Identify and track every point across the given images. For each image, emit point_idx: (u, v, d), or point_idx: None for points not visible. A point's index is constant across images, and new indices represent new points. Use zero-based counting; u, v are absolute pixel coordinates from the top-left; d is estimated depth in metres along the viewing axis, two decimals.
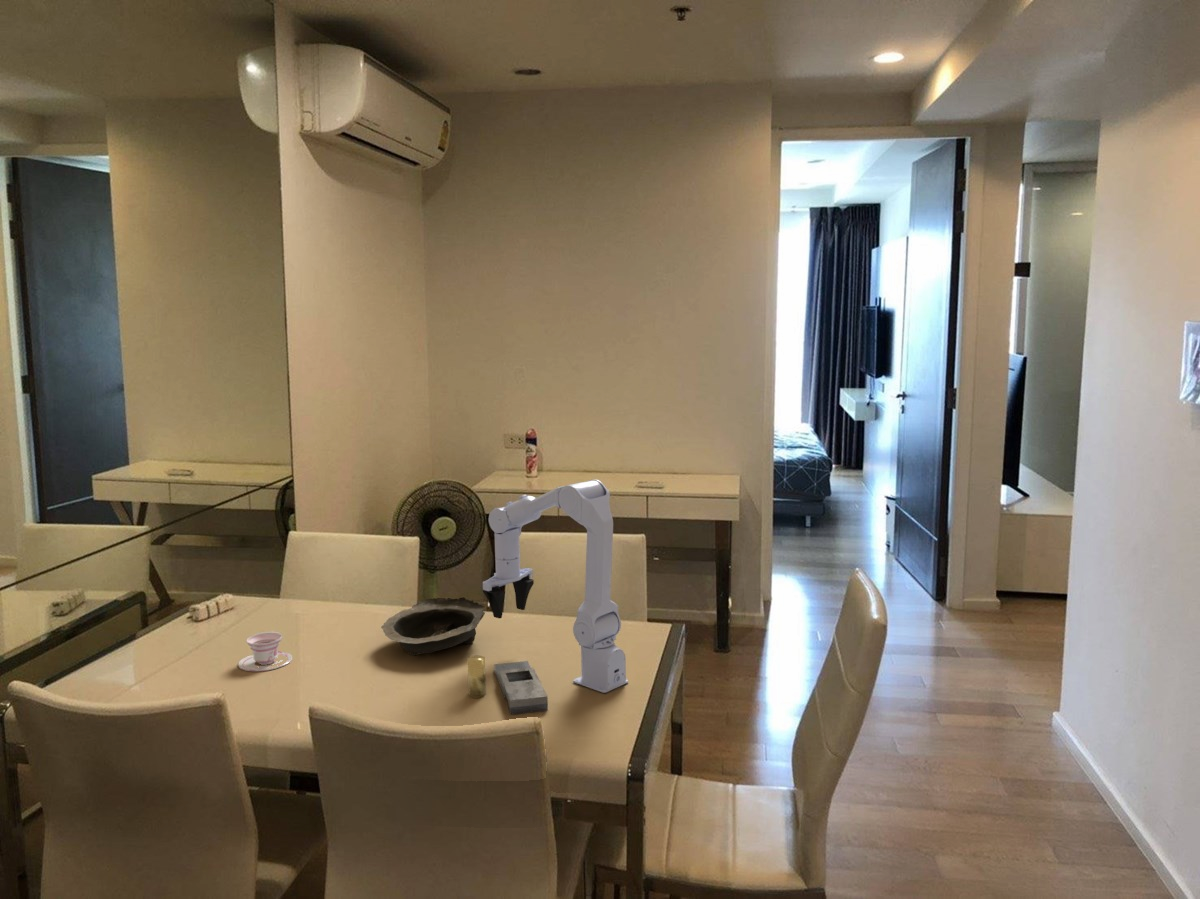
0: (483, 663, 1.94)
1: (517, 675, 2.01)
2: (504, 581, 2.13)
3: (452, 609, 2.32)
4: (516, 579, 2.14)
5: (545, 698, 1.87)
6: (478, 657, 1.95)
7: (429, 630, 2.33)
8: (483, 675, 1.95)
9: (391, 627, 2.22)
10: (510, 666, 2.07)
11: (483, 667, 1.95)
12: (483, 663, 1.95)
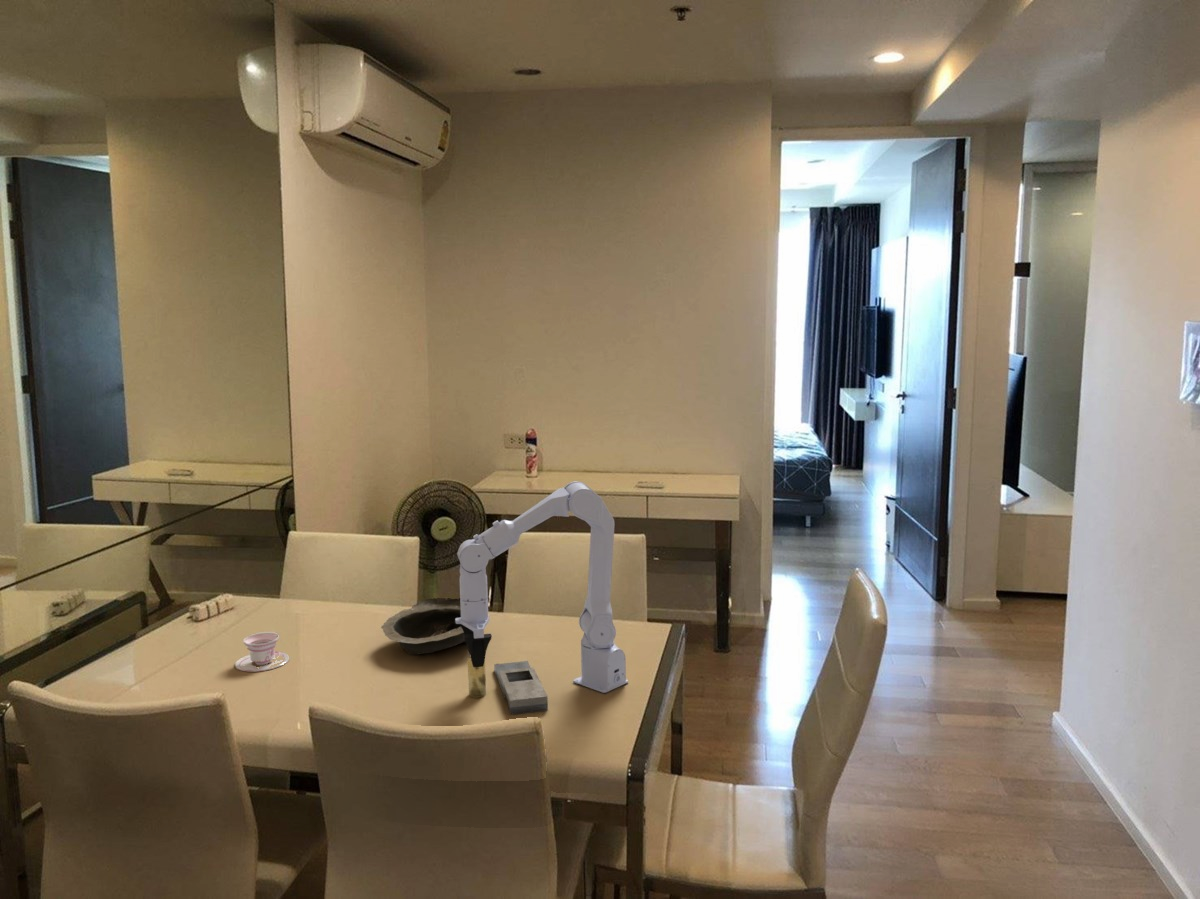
0: None
1: (517, 675, 2.01)
2: (486, 623, 1.91)
3: (452, 609, 2.32)
4: None
5: (545, 698, 1.87)
6: None
7: (429, 630, 2.33)
8: (483, 675, 1.95)
9: (391, 627, 2.22)
10: (510, 666, 2.07)
11: (483, 667, 1.95)
12: None
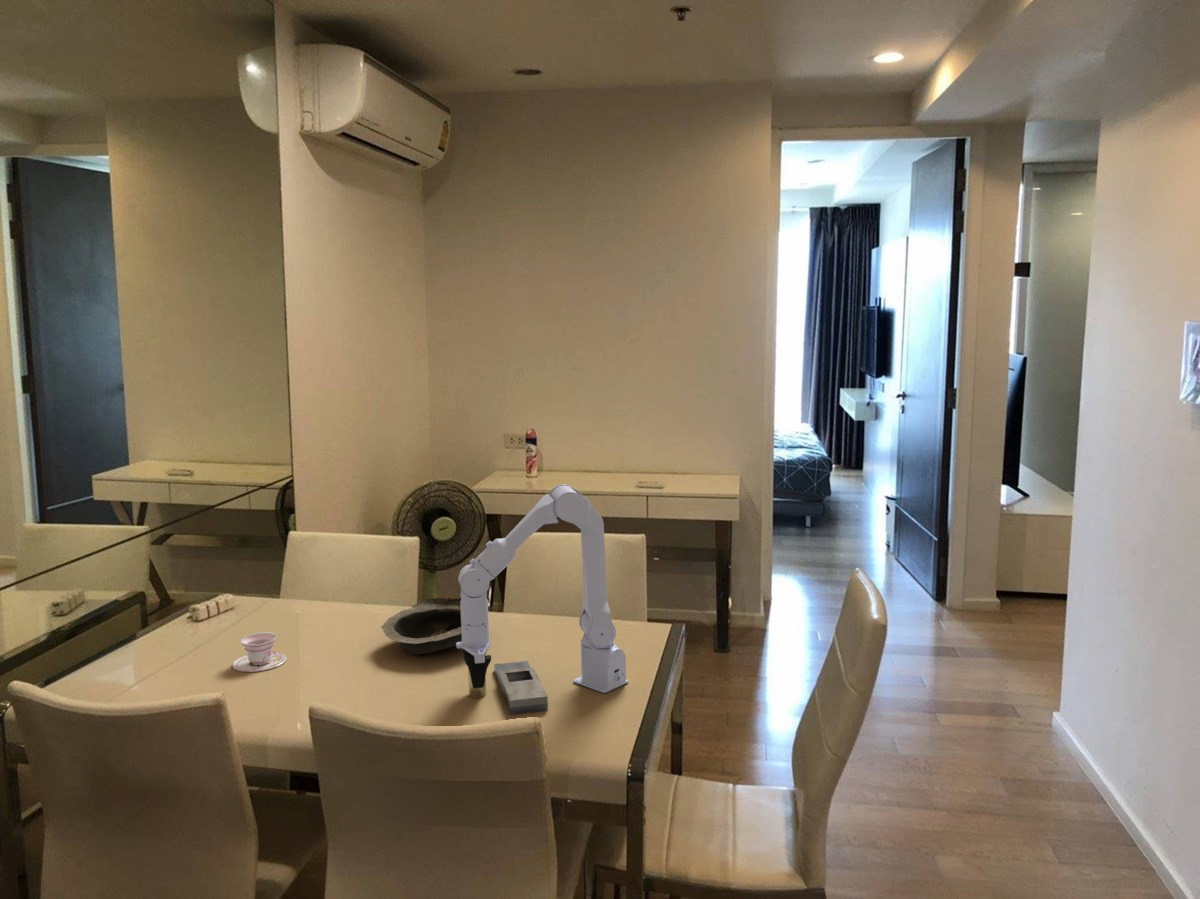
0: None
1: (517, 675, 2.01)
2: (487, 647, 1.92)
3: (452, 609, 2.32)
4: None
5: (545, 698, 1.87)
6: None
7: (429, 630, 2.33)
8: None
9: (391, 627, 2.22)
10: (510, 666, 2.07)
11: None
12: None
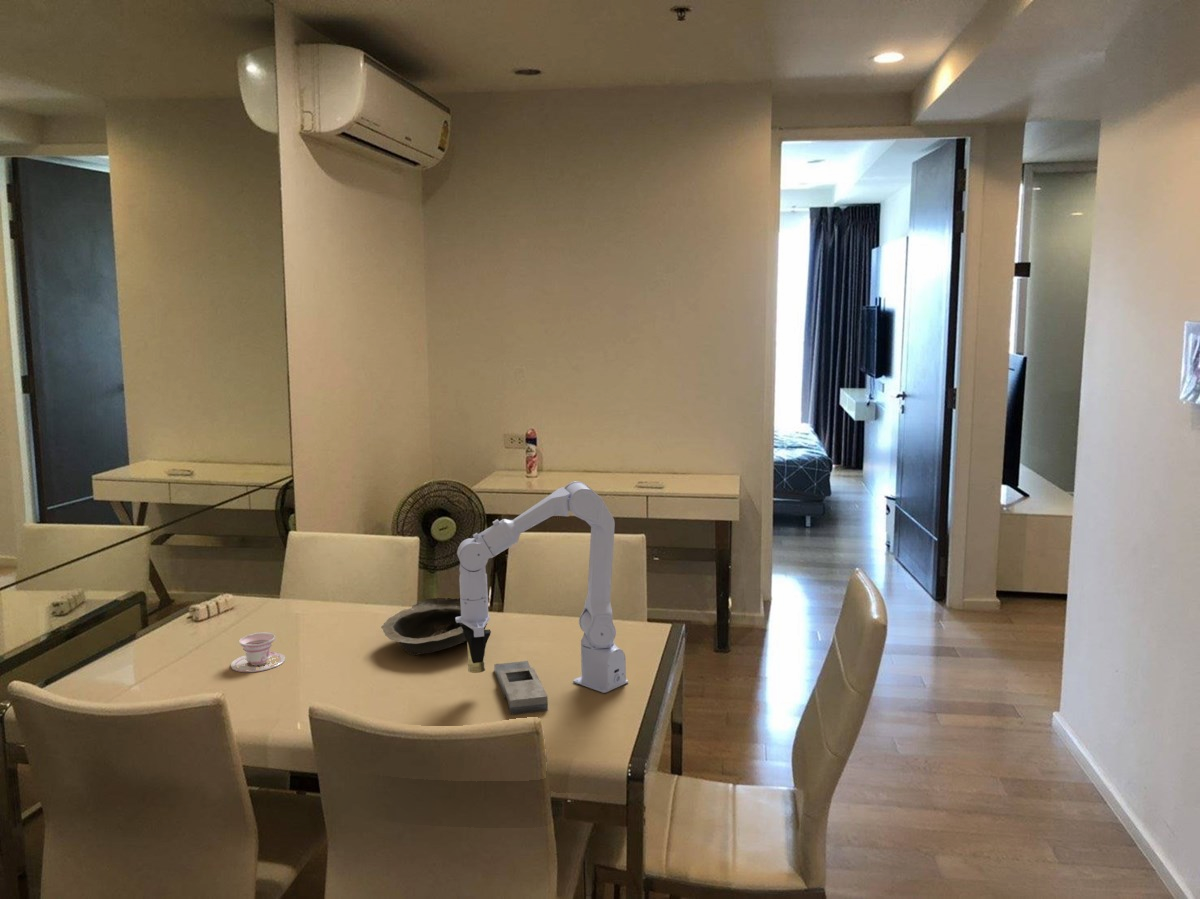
0: None
1: (517, 675, 2.01)
2: (486, 622, 1.91)
3: (452, 609, 2.32)
4: None
5: (545, 698, 1.87)
6: None
7: (429, 630, 2.33)
8: None
9: (391, 627, 2.22)
10: (510, 666, 2.07)
11: None
12: None
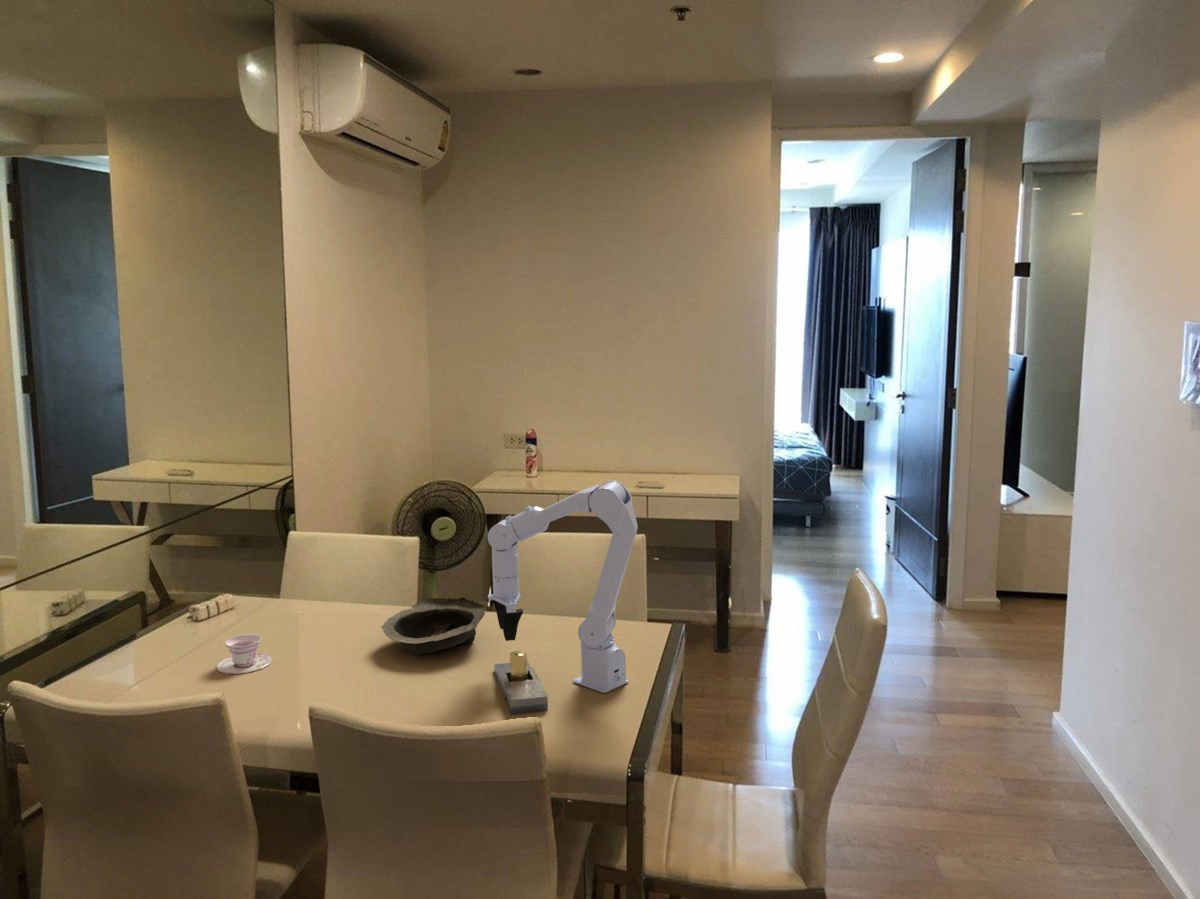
0: (525, 658, 1.97)
1: None
2: (517, 599, 2.01)
3: (452, 609, 2.32)
4: None
5: (545, 698, 1.87)
6: (520, 653, 1.98)
7: (429, 630, 2.33)
8: (525, 670, 1.97)
9: (391, 627, 2.22)
10: None
11: (525, 662, 1.97)
12: (526, 658, 1.97)
